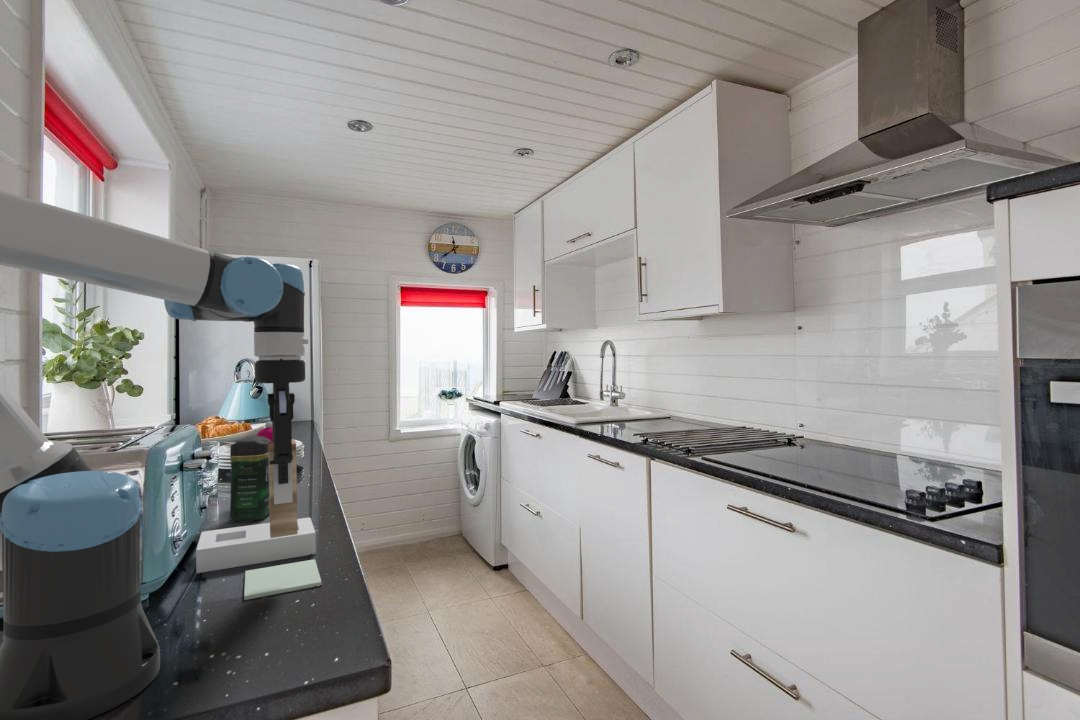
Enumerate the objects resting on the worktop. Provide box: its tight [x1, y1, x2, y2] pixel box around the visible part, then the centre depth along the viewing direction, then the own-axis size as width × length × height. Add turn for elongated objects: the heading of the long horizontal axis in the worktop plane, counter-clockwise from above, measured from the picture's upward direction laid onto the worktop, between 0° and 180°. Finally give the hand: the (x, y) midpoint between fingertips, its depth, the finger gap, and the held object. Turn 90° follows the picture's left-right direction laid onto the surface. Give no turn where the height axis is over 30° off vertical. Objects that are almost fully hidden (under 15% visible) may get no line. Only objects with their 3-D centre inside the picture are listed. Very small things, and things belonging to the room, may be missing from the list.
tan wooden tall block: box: [268, 439, 298, 538], centre depth 90 cm, size 4×4×15 cm
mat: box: [243, 559, 323, 601], centre depth 90 cm, size 11×11×1 cm
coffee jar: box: [229, 435, 271, 523], centre depth 125 cm, size 10×8×19 cm
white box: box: [195, 517, 317, 574], centre depth 102 cm, size 11×19×4 cm, turn 118°
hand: (282, 499), depth 90 cm, fingers closed on tan wooden tall block, 4 cm apart
